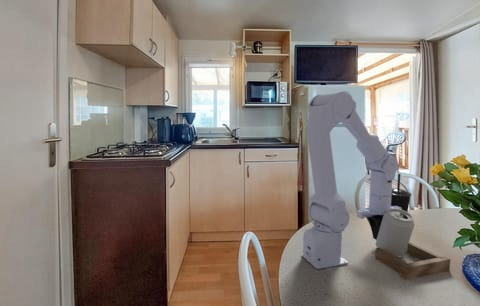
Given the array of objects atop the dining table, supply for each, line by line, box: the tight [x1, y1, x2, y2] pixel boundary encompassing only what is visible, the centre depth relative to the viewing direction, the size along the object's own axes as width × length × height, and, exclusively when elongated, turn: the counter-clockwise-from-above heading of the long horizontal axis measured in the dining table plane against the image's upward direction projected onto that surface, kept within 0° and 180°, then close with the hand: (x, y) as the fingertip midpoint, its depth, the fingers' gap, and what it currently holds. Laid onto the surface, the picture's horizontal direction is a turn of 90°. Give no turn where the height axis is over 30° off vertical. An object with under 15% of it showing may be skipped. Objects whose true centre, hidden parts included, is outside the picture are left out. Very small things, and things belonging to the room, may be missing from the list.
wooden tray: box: [374, 242, 451, 281], centre depth 73 cm, size 14×10×3 cm
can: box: [375, 208, 416, 258], centre depth 77 cm, size 8×8×12 cm
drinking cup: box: [391, 173, 412, 213], centre depth 94 cm, size 8×8×20 cm
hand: (377, 239), depth 83 cm, fingers closed, pressing on can
